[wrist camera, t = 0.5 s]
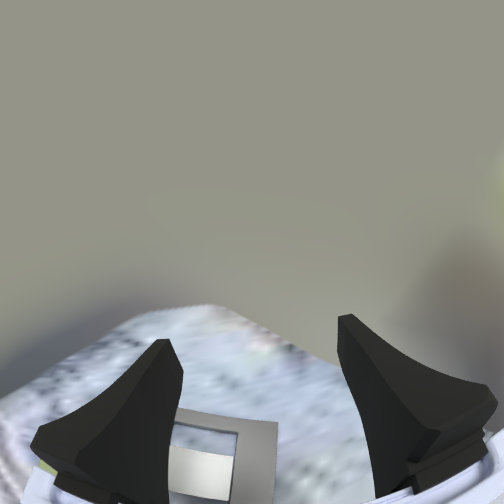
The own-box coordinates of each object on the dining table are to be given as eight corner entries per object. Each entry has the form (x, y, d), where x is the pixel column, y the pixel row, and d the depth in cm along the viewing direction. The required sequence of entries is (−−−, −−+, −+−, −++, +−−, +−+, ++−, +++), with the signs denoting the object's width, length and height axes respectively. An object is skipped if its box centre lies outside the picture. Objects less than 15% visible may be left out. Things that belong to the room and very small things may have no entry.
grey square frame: (266, 543, 13) (270, 546, 12) (114, 515, 12) (108, 516, 11) (275, 425, 24) (279, 421, 23) (141, 401, 23) (138, 395, 22)
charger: (221, 497, 17) (228, 500, 12) (168, 487, 16) (153, 486, 12) (226, 466, 19) (233, 456, 15) (174, 456, 19) (162, 442, 14)
